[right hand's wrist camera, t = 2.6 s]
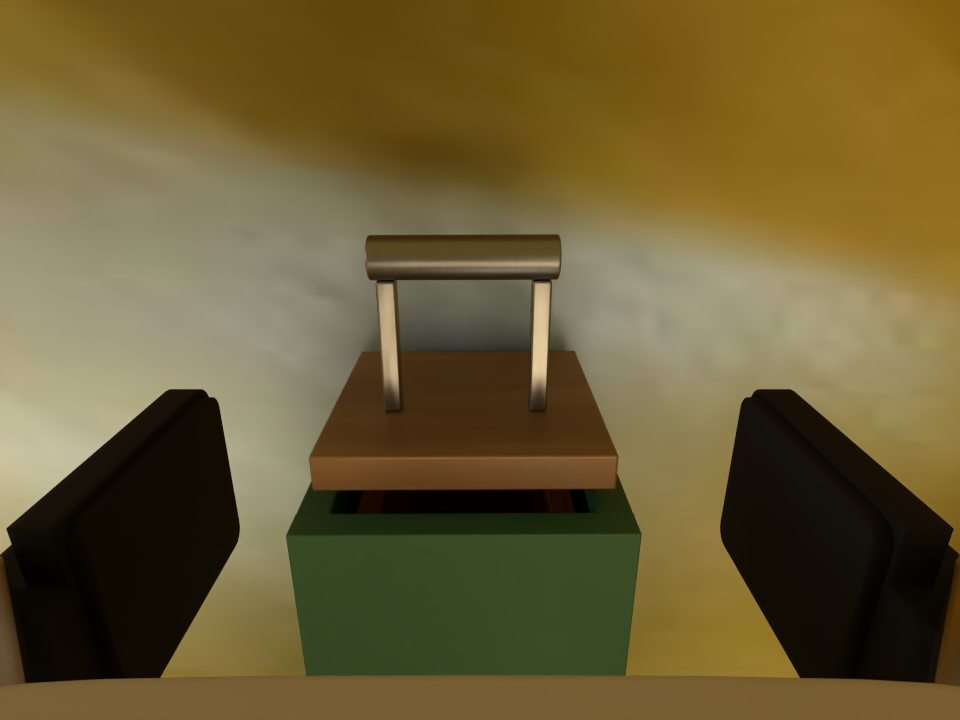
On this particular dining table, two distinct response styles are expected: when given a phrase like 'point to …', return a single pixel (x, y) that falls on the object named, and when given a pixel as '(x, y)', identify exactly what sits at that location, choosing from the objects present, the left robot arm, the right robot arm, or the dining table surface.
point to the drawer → (464, 399)
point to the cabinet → (464, 588)
